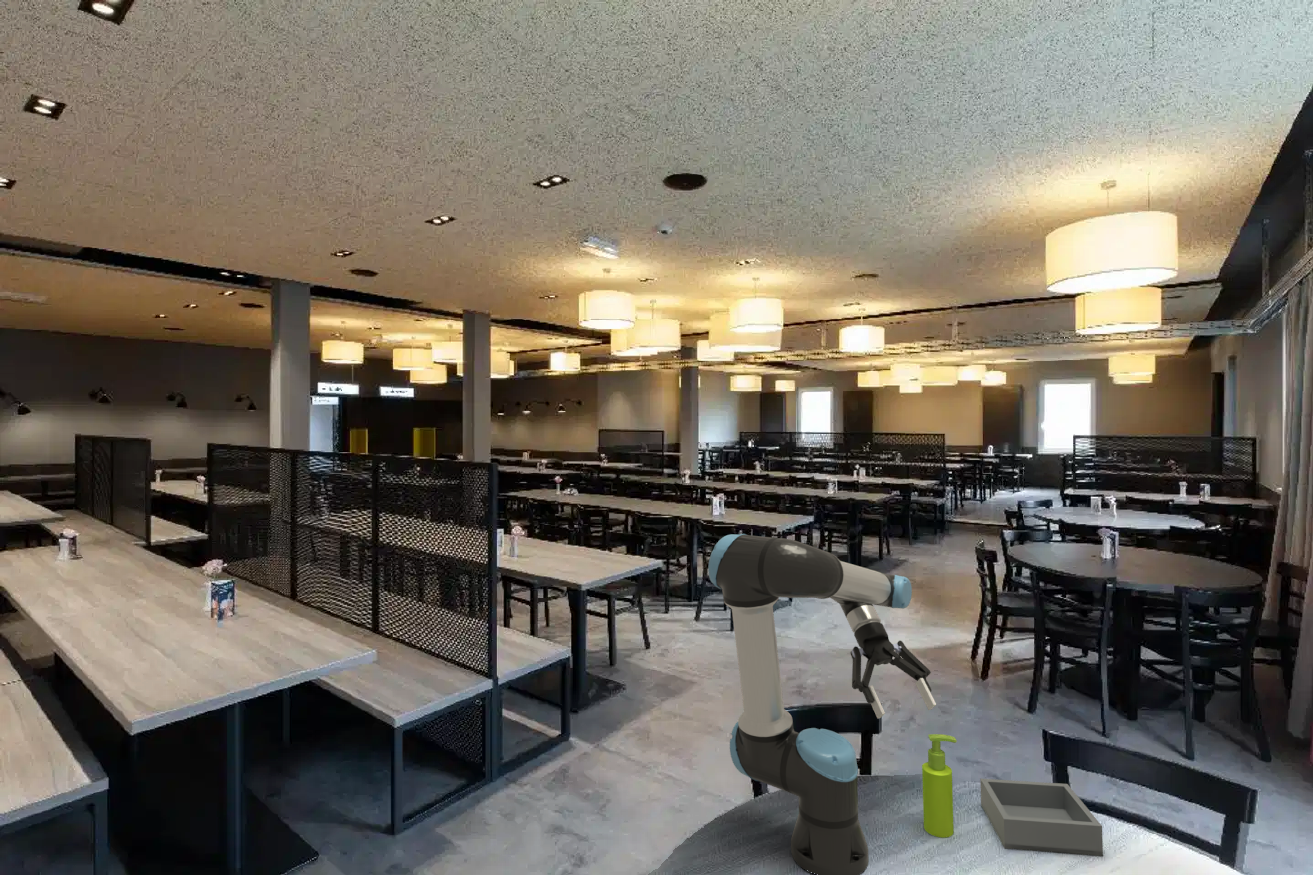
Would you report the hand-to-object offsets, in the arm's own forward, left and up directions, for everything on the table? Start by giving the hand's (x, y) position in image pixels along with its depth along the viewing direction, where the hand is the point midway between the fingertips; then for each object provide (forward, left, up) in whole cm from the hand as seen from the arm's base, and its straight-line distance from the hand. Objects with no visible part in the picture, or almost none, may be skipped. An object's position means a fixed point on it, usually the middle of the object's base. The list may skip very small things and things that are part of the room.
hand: (907, 711), depth 151 cm
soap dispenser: (+5, -10, -21) cm, 24 cm away
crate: (+25, -7, -21) cm, 33 cm away
